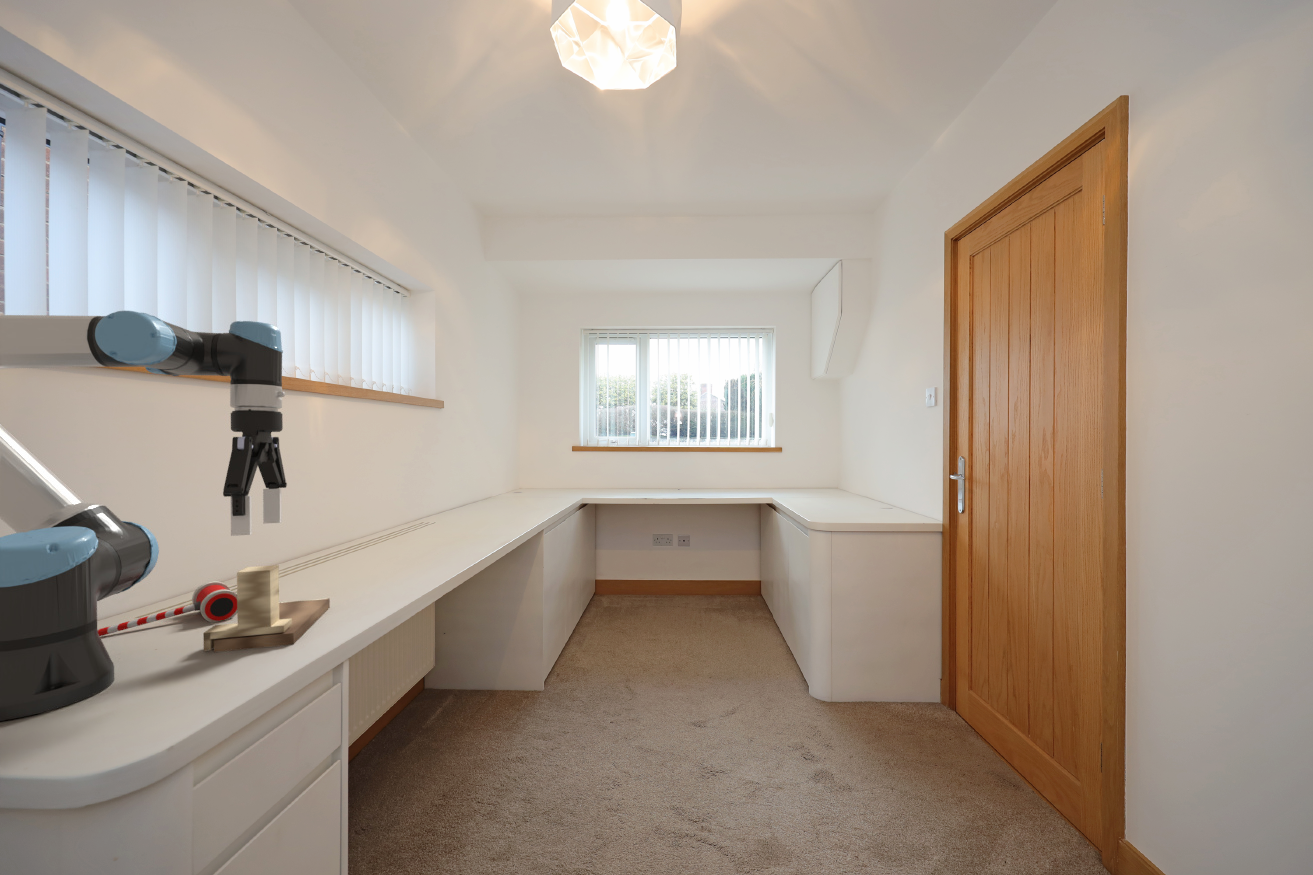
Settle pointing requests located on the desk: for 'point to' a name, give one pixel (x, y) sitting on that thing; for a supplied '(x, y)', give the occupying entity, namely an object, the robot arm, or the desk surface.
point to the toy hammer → (192, 607)
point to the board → (302, 620)
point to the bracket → (253, 606)
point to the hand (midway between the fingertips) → (257, 528)
